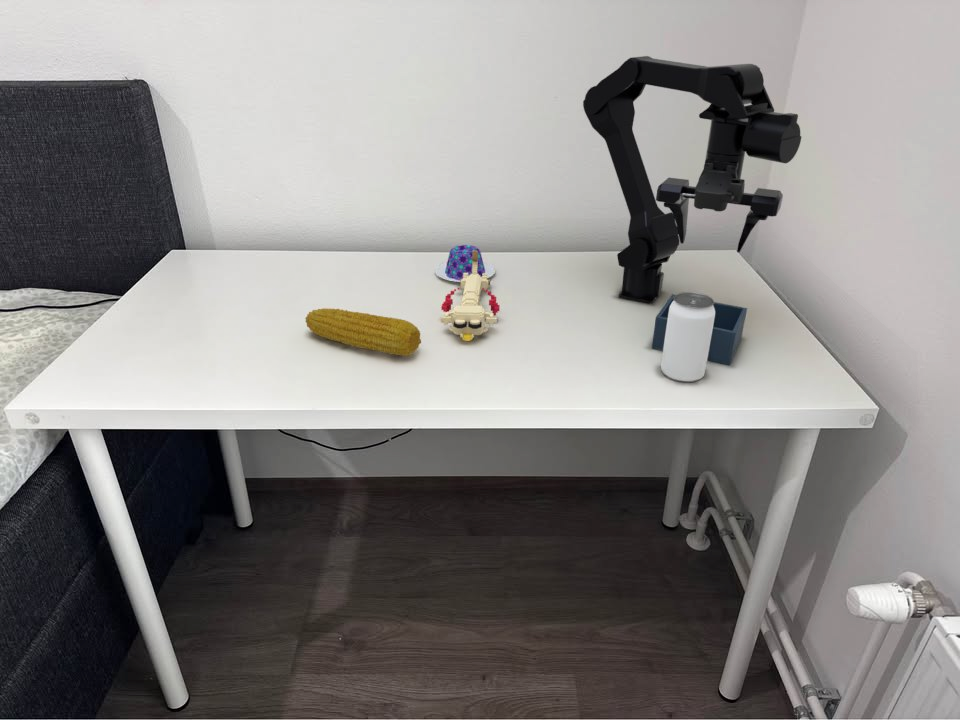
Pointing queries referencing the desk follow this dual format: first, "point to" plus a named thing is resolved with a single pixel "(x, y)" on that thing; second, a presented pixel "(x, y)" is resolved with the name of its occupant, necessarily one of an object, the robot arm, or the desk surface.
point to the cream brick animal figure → (470, 305)
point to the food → (365, 330)
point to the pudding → (462, 264)
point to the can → (688, 336)
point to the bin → (723, 332)
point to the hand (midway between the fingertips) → (710, 247)
